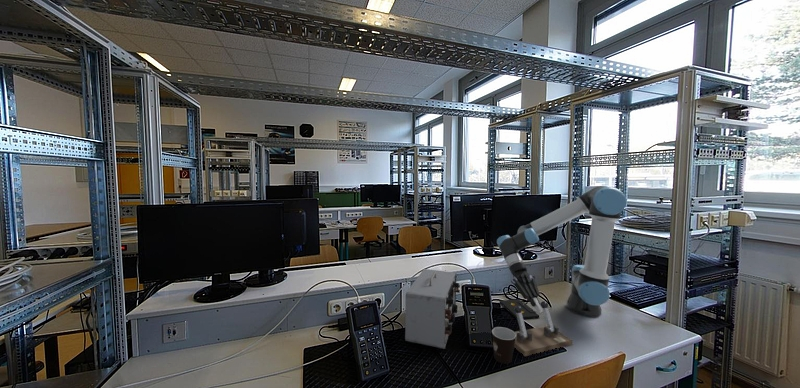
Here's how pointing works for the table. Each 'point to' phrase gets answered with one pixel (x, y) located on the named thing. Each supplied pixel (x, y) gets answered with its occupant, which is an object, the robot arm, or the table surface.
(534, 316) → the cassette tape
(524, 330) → the lever
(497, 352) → the coffee mug
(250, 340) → the table surface
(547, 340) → the switch base
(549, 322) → the lever
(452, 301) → the vintage electronic device
